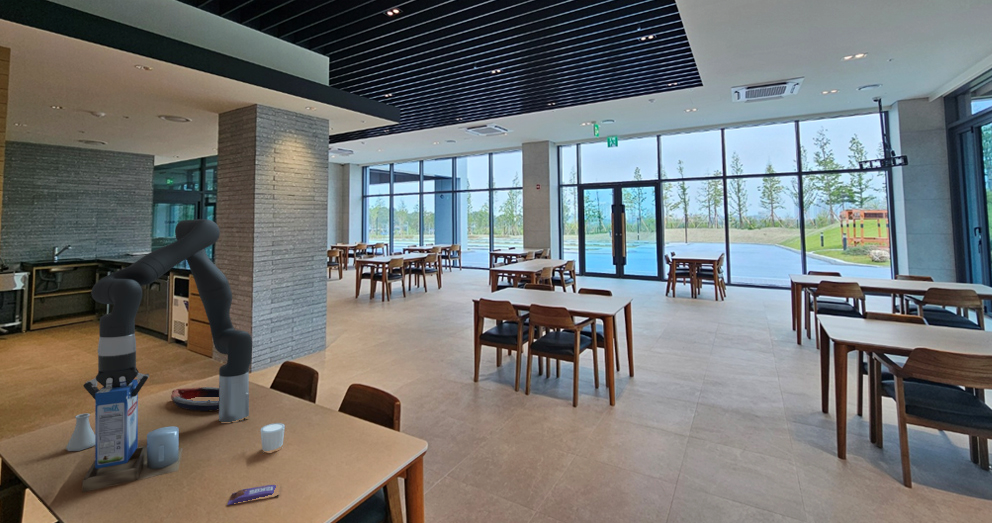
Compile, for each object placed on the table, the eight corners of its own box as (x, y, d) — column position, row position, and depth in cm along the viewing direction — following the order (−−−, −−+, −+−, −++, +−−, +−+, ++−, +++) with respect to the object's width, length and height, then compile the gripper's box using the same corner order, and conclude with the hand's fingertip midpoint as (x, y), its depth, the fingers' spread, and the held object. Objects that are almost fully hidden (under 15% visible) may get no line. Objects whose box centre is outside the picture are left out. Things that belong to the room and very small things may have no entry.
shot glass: (289, 446, 129) (289, 425, 129) (269, 456, 123) (269, 434, 123) (275, 441, 132) (275, 421, 132) (255, 451, 126) (255, 429, 125)
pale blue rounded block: (179, 453, 120) (179, 424, 120) (176, 466, 113) (176, 435, 113) (149, 460, 116) (149, 429, 116) (144, 473, 109) (144, 441, 109)
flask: (77, 453, 121) (76, 421, 121) (59, 450, 123) (59, 418, 123) (105, 442, 129) (104, 412, 128) (88, 439, 130) (87, 409, 130)
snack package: (282, 481, 108) (279, 492, 103) (282, 488, 108) (279, 499, 103) (232, 489, 104) (226, 501, 99) (232, 496, 104) (226, 508, 99)
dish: (211, 418, 149) (211, 405, 148) (156, 405, 158) (156, 393, 158) (249, 403, 163) (249, 391, 163) (196, 392, 173) (196, 381, 173)
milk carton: (126, 463, 107) (126, 389, 106) (95, 468, 104) (95, 393, 103) (137, 446, 116) (138, 378, 115) (109, 451, 113) (109, 381, 112)
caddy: (182, 452, 124) (182, 438, 124) (177, 475, 111) (178, 460, 111) (98, 470, 113) (98, 454, 113) (82, 498, 101) (82, 480, 100)
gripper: (152, 345, 116) (152, 404, 116) (86, 351, 108) (86, 413, 109) (148, 351, 110) (148, 413, 110) (77, 357, 102) (77, 424, 102)
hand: (117, 413), depth 109 cm, fingers closed
